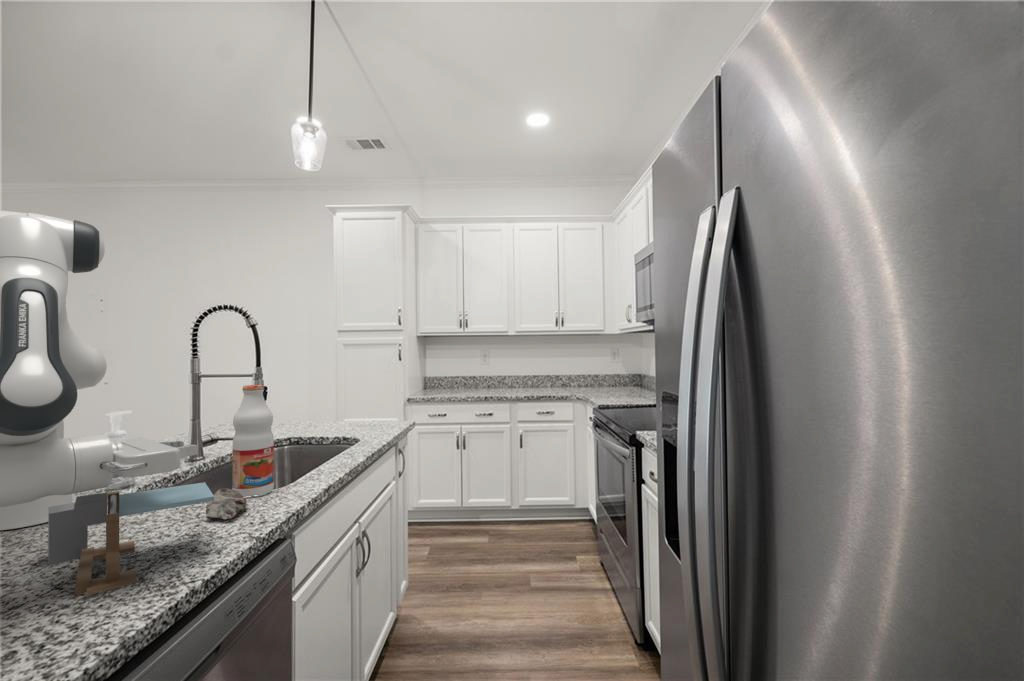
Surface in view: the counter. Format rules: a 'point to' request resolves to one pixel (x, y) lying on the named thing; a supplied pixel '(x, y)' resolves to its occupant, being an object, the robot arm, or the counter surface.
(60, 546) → the basalt block
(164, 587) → the counter surface
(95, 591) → the post frame
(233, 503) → the mineral rock
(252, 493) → the fruit juice
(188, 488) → the trapdoor
